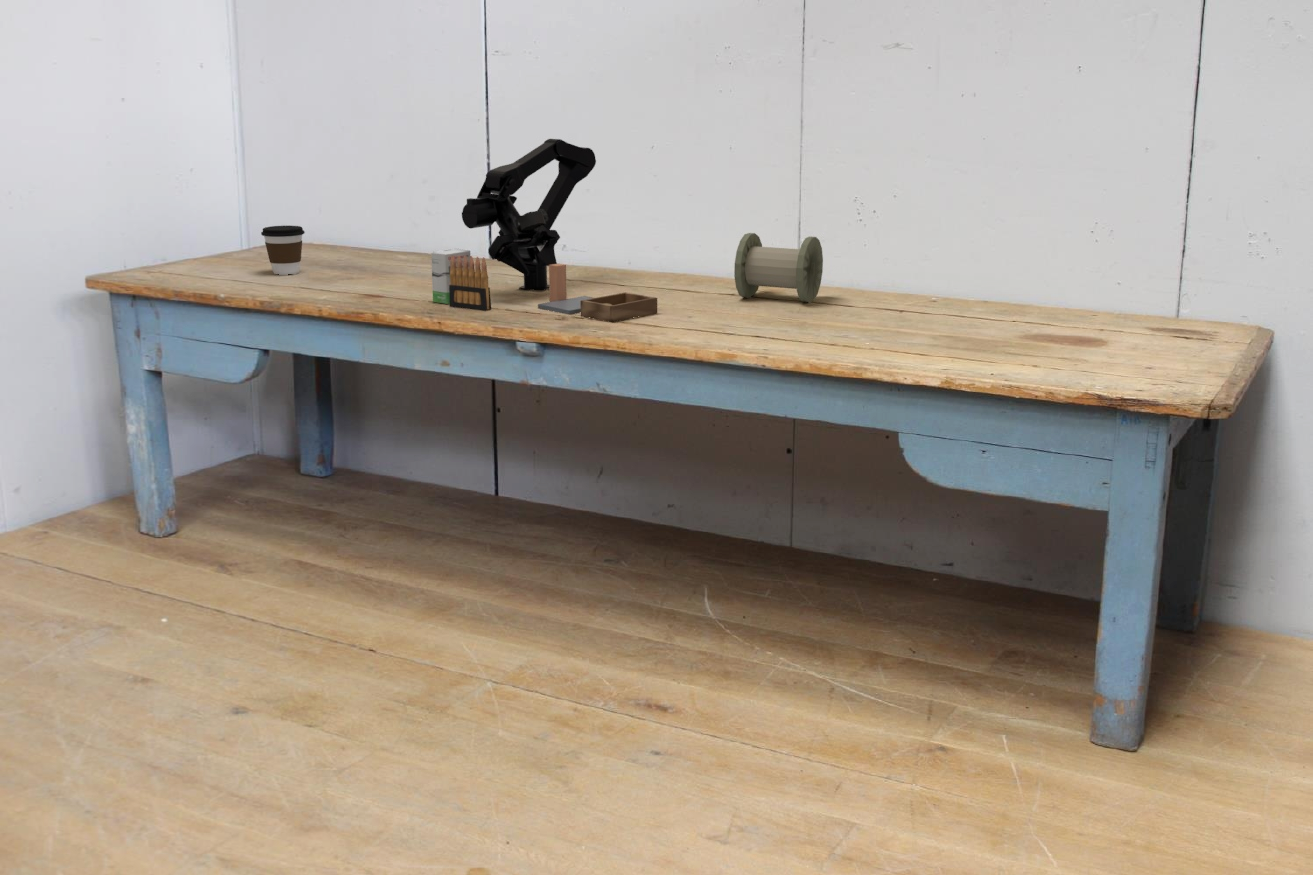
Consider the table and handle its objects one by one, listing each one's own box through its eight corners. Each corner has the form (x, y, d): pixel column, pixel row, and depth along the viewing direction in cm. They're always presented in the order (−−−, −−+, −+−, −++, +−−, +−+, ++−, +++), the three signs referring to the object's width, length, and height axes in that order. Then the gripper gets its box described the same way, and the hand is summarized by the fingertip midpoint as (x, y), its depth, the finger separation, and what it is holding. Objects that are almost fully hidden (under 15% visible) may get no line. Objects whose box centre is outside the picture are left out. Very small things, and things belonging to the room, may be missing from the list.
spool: (821, 296, 308) (823, 233, 304) (801, 307, 295) (803, 241, 291) (756, 291, 315) (757, 230, 311) (733, 302, 302) (735, 237, 298)
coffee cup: (316, 272, 343) (313, 227, 340) (284, 278, 334) (280, 231, 331) (287, 269, 349) (284, 224, 346) (255, 274, 340) (251, 228, 337)
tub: (580, 316, 285) (580, 300, 284) (625, 307, 295) (625, 292, 294) (612, 322, 279) (612, 306, 278) (657, 313, 288) (657, 297, 287)
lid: (530, 307, 296) (529, 267, 293) (577, 298, 306) (577, 260, 303) (569, 315, 287) (569, 274, 285) (616, 306, 297) (616, 267, 295)
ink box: (447, 304, 299) (444, 253, 295) (431, 302, 302) (429, 251, 298) (473, 299, 305) (471, 249, 302) (458, 297, 308) (455, 247, 305)
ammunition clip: (491, 309, 293) (489, 256, 289) (486, 311, 291) (484, 258, 288) (454, 305, 298) (451, 253, 295) (449, 306, 296) (446, 254, 293)
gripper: (495, 200, 294) (529, 254, 290) (554, 195, 308) (587, 246, 304) (473, 232, 301) (506, 284, 297) (531, 226, 315) (564, 276, 311)
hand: (542, 272), depth 302 cm, fingers open, 9 cm apart
